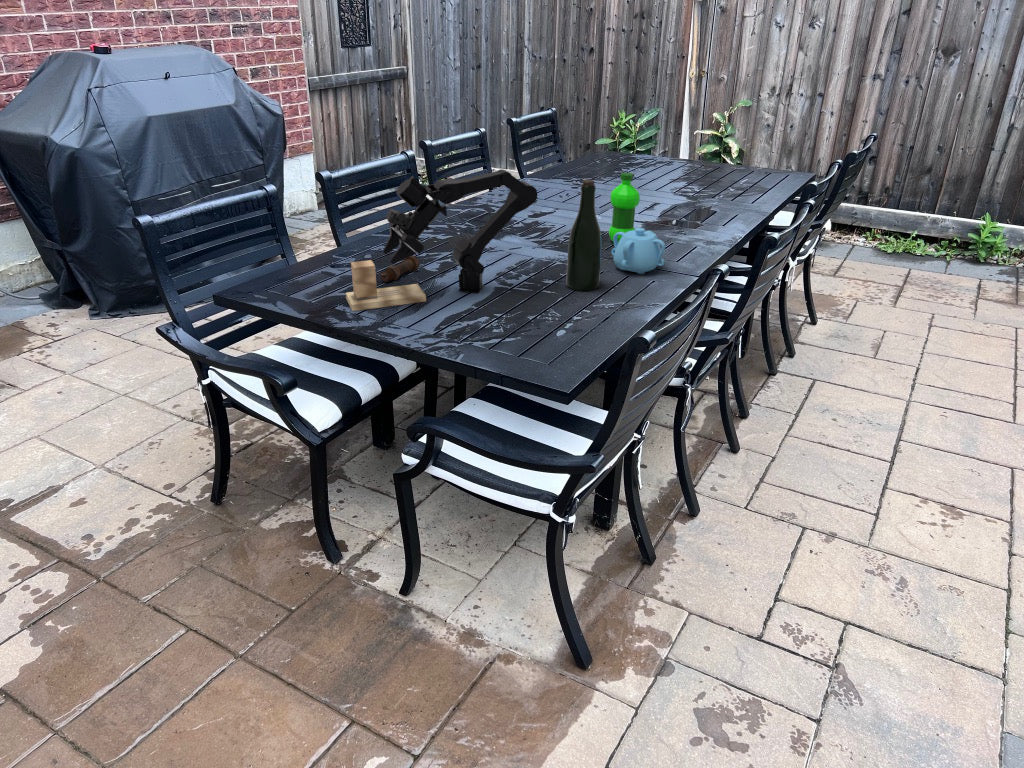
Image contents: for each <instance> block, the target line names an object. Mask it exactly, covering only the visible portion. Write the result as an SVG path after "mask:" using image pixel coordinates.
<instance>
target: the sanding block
mask: <svg viewBox="0 0 1024 768" xmlns="http://www.w3.org/2000/svg"><path fill="white" fill-rule="evenodd" d="M350 267H351V277H352V278H351V279H352V288H353V290H352V291H353V292H354V296H355V297H356V299H357V301H358V300H366V299H374V298H378V297H377V289H378V288H377V287H378V286H377V275H376V266H375V263H374V262H373V261H372V260H371V259H369V260H368V259H367V260H359V261H352V262H350Z"/></svg>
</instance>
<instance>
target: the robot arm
mask: <svg viewBox="0 0 1024 768" xmlns="http://www.w3.org/2000/svg"><path fill="white" fill-rule="evenodd" d="M502 186H505V188H507V189H508V190H509V192H508V193H507V196H506V199H505V201H504V203H503V204H502V205H501V206H500V207H499V209H498V210H497V211H496V212H495V213H493V215H492V216H491V217H490V218H489V219H488V220H487V221H486V222H485V224H484V225H483V226H482V227H481V228H480V229H479V230H478V231H477V232H476V233H475V234H474V235H473V236H472V237H470V238H467V237H465V236H463V237H462V238H461V239H460V240H459V242H458V243H457V244H455V245H454V249H453V251H452V257H453V260H454V261H455V263H457V265H459V267H460V268H461V269H460V271H459V274H458V287H459V288H458V291H459V292H465V293H473V294H474V293H475V294H479V293H480V292H481V291H482V290H483V288H484V287H485V284H483V273H484V270H485V266H484V264H482V263H481V262H480V259H481V257H482V255H483V253H484V252H483V251H484V250H485V248H486V247H487V245H488V244H489V243H490V242H491V241H493V239H494V238H495V237H496V235H498V234H499V233H500V232H501V231H502V229H503V228H505V226H506V225H508V223H509V222H510V221H511V220H512V219H513V218H514V217H515V216H516V215H517V214H518V213H520V212H522V211H524V210H526V209H528V208H529V207H530V206H532V205H533V204H534V203H535V202H536V201H537V199H538V190H537V188H536V187H535V186H533V185H531V184H530V183H529V182H527V181H524V180H519V179H518V178H516V177H515V176H513V175H512V173H511V172H509V171H507V170H506V169H503V168H502V169H499V170H497V171H492V172H489V173H488V172H487V173H484V174H480V175H475V176H471V177H467V178H463V179H461V178H460V179H457V178H443V179H442V178H441V179H438V180H436V181H435V183H433V184H428V185H424V186H423V185H422V184H421V183H420V182H419V181H418V179H416V178H415V177H414V176H413V175H411V176H410V177H409V178H407V179H405V180H404V181H403V182H401V183H400V185H399V186H398V188H397V190H396V192H395V193H396V195H397V196H398V197H399V198H400V199H401V200H403V201H404V202H405V203H406V204H407V205H408V206H409V207H411V208H414V207H416V209H415V210H414V211H413V212H412V211H408V212H407V213H405V212H401V211H399V210H395V209H393V208H389V209H388V212H387V214H386V217H385V220H387V222H388V223H389V227H388V229H389V237H388V240H387V241H386V244H385V246H384V247H383V249H382V253H383V254H384V255H387V254H388V253H391V252H392V251H393V250H395V249H396V248H397V249H396V251H395V252H394V254H393V255H392V256H391V259H390V260H389V263H390V264H391V265H394V264H396V263H397V262H401V261H404V259H405V258H407V257H410V256H412V255H413V256H416V255H421V253H422V252H423V251H424V244H423V242H421V241H420V240H421V238H420V236H421V235H423V233H424V232H425V230H426V231H428V230H429V229H430V227H429V226H430V224H431V223H432V222H433V221H434V220H435V219H436V217H437V216H438V215H439V214H440V213H441V214H442V215H443V216H445V217H447V215H448V212H447V210H448V209H447V208H448V207H447V206H446V205H449V204H452V203H454V202H456V201H459V200H460V199H462V198H463V197H465V196H467V195H469V194H470V195H471V194H473V193H474V194H475V193H478V192H481V191H486V190H491V189H493V188H497V187H499V188H500V187H502ZM427 196H428V197H427ZM429 197H430V198H431V199H429ZM439 201H440V202H441V203H442V204H441V203H440V202H439Z"/></svg>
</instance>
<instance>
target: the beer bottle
mask: <svg viewBox="0 0 1024 768" xmlns="http://www.w3.org/2000/svg"><path fill="white" fill-rule="evenodd" d="M596 189H597V186H596V184H595V180H593V179H583V180H582V184H581V185H580V201H579V208H578V213H577V215H576V218H575V220H574V222H573V224H572V227H571V229H570V233H569V236H568V237H569V238H568V247H567V261H566V263H567V264H566V277H565V279H566V281H565V282H566V286H567V287H569V288H570V289H572V290H575V291H584V292H585V291H592V290H596V289H597V288H598V287H599V286H600V280H601V277H600V276H601V263H602V261H601V260H602V259H601V258H602V232H601V228H600V224H599V220H598V219H597V214H596V206H595V205H596V202H595V201H596Z"/></svg>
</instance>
